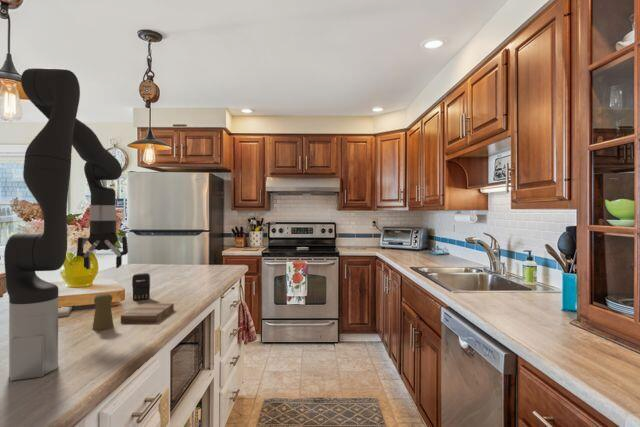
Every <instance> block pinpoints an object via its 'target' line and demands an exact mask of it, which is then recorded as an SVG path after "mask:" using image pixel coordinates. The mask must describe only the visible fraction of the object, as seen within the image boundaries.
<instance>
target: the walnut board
mask: <svg viewBox="0 0 640 427" xmlns="http://www.w3.org/2000/svg"><path fill="white" fill-rule="evenodd" d="M174 307H175V305H174V303H141V304H139V305H137V306H136V307H134V308H131V309H130V310H129V311H126V312H124V313H122V314H121V315H120V323H121V324H146V323H147V324H149V323H151V324H152V323H153V324H154V323H155V324H156V323H157V322H159V321H160V320H162V319H163V318H165V317H166V316H168V314H170V313H171V312H172V311H174V309H175V308H174Z"/></svg>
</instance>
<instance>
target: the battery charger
mask: <svg viewBox="0 0 640 427" xmlns="http://www.w3.org/2000/svg"><path fill="white" fill-rule="evenodd" d="M131 280H132V281H131V286H132V300H133V301H142V300H149V299H150V298H151V297H150V296H151V295H150V294H151V275H150V273H148V272H137V273H134V274H133V276H132V279H131Z"/></svg>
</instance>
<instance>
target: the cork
mask: <svg viewBox="0 0 640 427" xmlns="http://www.w3.org/2000/svg"><path fill="white" fill-rule="evenodd" d="M112 302H113V296H112V294H109V293H101V294H96V295H95V297H94V298H93V303H94V305H95V309H94V314H93V324H92V329H91V330H93V331H95V332H96V331H99V332H101V331H106V330H110V329H112V328H114V320H113V313H112V307H111V303H112Z"/></svg>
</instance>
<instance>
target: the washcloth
mask: <svg viewBox="0 0 640 427" xmlns="http://www.w3.org/2000/svg"><path fill="white" fill-rule="evenodd" d="M73 308H74V306H73V307H61V308H58V318H62V317H69V315H70V313H71V312H72V310H73Z"/></svg>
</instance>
